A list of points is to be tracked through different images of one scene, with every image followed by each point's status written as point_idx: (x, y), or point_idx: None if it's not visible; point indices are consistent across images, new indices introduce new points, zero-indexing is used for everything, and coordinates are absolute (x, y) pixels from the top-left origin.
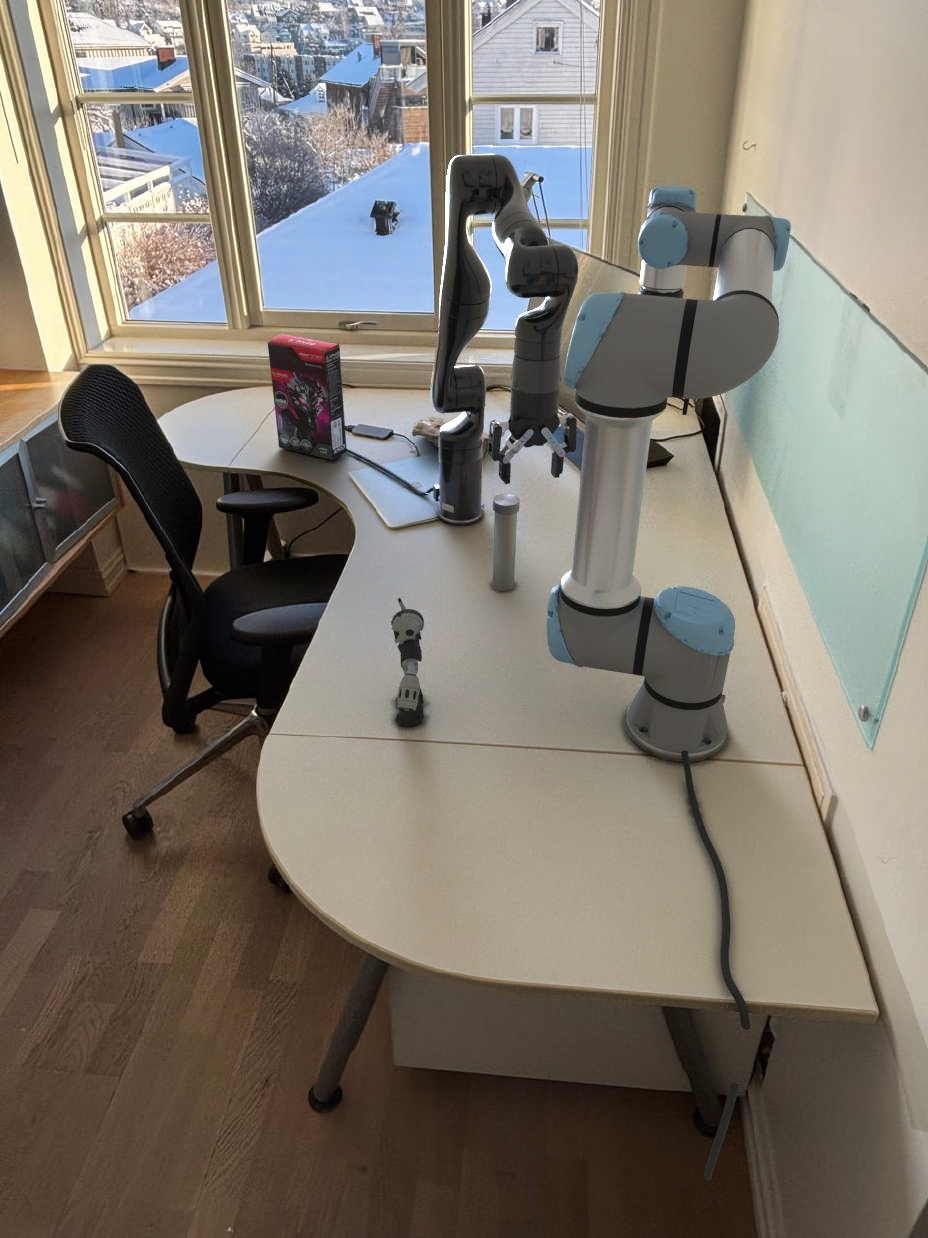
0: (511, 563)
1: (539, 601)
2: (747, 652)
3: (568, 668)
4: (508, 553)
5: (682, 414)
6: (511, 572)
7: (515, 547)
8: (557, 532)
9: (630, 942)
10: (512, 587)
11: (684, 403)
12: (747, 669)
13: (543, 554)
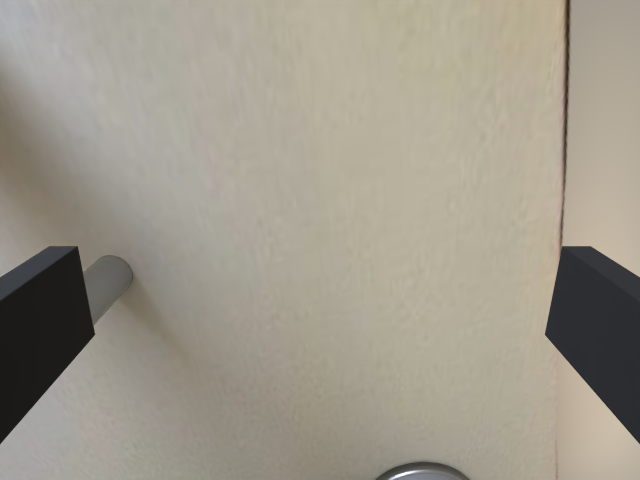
0: (106, 310)
1: (189, 302)
2: (527, 349)
3: (276, 438)
4: None
5: (547, 334)
6: (115, 300)
7: (94, 314)
8: (138, 23)
9: None
10: (131, 280)
11: (589, 383)
12: (521, 385)
13: (142, 139)
